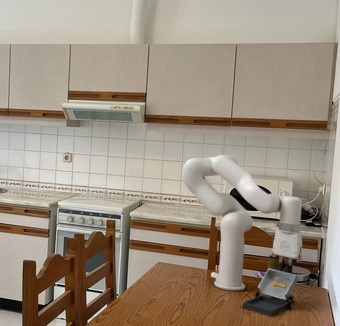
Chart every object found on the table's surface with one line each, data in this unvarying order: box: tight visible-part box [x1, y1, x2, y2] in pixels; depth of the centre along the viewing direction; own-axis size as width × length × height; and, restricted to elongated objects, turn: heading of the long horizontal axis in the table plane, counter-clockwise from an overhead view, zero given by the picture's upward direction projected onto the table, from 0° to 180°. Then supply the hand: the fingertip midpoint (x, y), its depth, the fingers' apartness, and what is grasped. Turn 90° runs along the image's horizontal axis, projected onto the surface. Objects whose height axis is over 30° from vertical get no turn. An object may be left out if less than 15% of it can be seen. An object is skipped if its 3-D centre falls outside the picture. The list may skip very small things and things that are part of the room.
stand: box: [254, 290, 294, 310], centre depth 192 cm, size 13×10×3 cm
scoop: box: [257, 261, 299, 301], centre depth 193 cm, size 11×17×4 cm
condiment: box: [266, 254, 280, 283], centre depth 218 cm, size 7×8×12 cm
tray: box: [242, 294, 288, 317], centre depth 185 cm, size 11×15×2 cm
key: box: [271, 281, 286, 288], centre depth 192 cm, size 6×2×1 cm
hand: (285, 273), depth 196 cm, fingers closed on scoop
